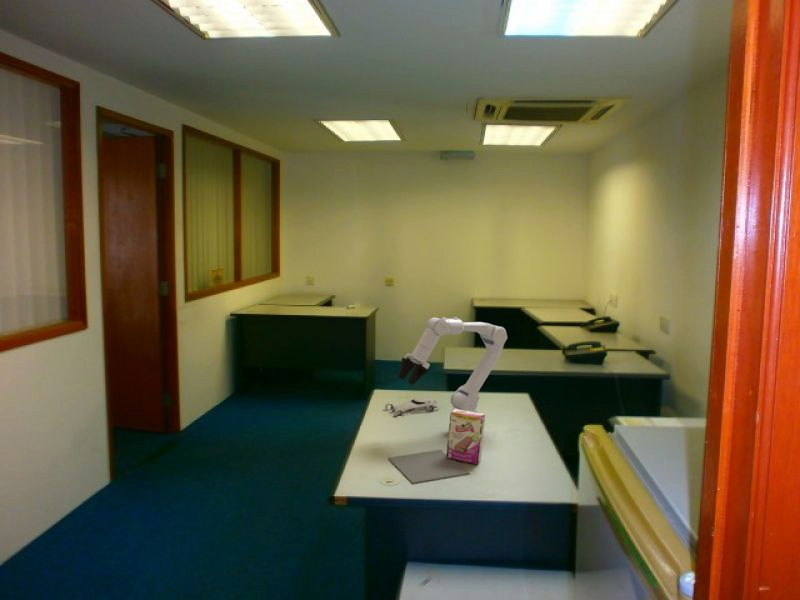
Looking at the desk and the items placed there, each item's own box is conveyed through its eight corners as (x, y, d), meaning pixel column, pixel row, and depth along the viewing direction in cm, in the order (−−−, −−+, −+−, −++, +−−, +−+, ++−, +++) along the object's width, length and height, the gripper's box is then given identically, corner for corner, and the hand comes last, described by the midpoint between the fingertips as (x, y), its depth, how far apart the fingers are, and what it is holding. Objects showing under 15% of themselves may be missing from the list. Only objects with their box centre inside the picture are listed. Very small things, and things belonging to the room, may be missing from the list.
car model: (382, 411, 242) (382, 399, 241) (431, 403, 253) (431, 392, 253) (394, 418, 232) (394, 407, 232) (444, 410, 244) (445, 399, 243)
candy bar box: (445, 459, 191) (449, 411, 189) (449, 454, 195) (453, 407, 194) (478, 465, 187) (482, 417, 185) (481, 460, 192) (485, 413, 190)
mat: (440, 451, 199) (440, 449, 199) (469, 474, 181) (469, 472, 181) (388, 459, 191) (388, 457, 191) (412, 484, 173) (412, 482, 173)
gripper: (407, 338, 208) (388, 371, 206) (426, 346, 195) (406, 381, 194) (420, 347, 211) (402, 379, 210) (440, 356, 199) (421, 390, 197)
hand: (405, 381), depth 202 cm, fingers open, 7 cm apart
